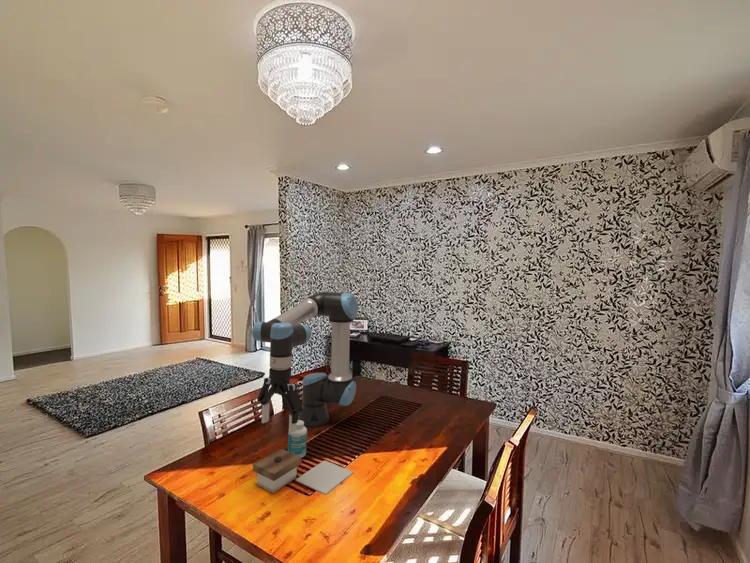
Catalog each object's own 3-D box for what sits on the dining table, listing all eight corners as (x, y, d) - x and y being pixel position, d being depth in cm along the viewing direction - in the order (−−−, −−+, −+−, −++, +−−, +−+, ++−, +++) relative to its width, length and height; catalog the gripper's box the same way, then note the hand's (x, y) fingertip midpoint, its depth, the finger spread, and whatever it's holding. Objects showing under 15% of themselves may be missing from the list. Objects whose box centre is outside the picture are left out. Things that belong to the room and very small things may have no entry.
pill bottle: (290, 461, 141) (291, 427, 141) (285, 452, 148) (286, 420, 147) (308, 457, 145) (309, 424, 144) (303, 449, 151) (304, 417, 151)
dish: (257, 484, 126) (257, 470, 125) (280, 470, 135) (281, 457, 135) (273, 493, 121) (273, 478, 121) (296, 477, 131) (296, 464, 131)
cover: (252, 470, 125) (253, 461, 125) (280, 455, 136) (281, 446, 136) (273, 481, 120) (274, 471, 120) (301, 464, 131) (301, 455, 131)
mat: (295, 480, 129) (295, 479, 129) (324, 461, 142) (324, 460, 142) (325, 494, 122) (325, 493, 121) (353, 473, 135) (353, 471, 135)
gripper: (248, 363, 130) (246, 421, 131) (298, 376, 117) (296, 440, 117) (264, 359, 136) (262, 414, 137) (314, 371, 123) (312, 432, 124)
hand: (278, 427), depth 127 cm, fingers open, 13 cm apart
